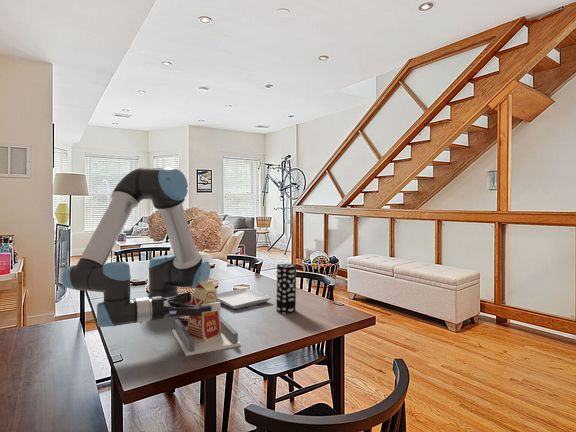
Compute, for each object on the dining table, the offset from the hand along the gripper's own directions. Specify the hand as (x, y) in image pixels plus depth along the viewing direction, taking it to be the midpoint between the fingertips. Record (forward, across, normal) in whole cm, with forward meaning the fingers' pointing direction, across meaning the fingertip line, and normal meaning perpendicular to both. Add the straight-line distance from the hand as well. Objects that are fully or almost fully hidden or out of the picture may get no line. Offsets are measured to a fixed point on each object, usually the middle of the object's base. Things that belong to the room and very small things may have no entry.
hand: (214, 300), depth 130 cm
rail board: (-3, 0, -13) cm, 13 cm away
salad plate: (+24, -36, -14) cm, 45 cm away
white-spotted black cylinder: (+37, -15, -13) cm, 42 cm away
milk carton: (-3, 0, -12) cm, 13 cm away
